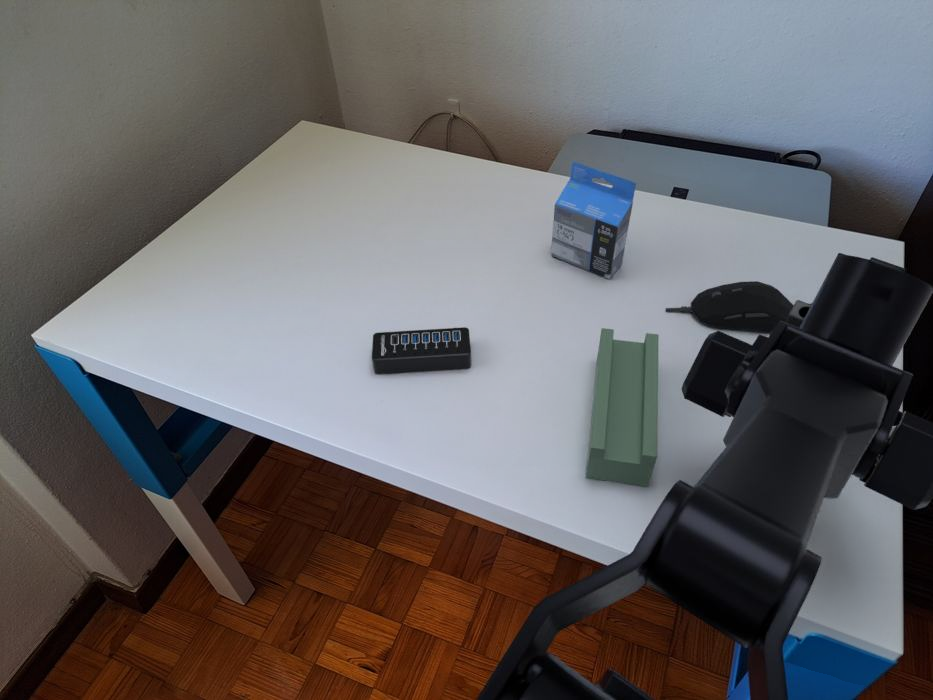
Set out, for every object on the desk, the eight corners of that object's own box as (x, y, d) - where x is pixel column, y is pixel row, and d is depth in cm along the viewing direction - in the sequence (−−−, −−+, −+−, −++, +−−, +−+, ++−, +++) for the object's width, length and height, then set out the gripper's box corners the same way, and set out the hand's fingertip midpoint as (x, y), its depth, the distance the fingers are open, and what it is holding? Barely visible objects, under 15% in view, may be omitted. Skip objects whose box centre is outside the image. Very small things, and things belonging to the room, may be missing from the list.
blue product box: (548, 256, 90) (554, 174, 81) (563, 241, 93) (571, 160, 84) (609, 280, 87) (622, 197, 78) (623, 264, 89) (637, 181, 80)
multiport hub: (471, 368, 77) (470, 354, 75) (374, 374, 77) (371, 360, 75) (469, 340, 80) (468, 326, 78) (375, 346, 80) (373, 332, 78)
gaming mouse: (662, 293, 85) (668, 268, 82) (787, 299, 83) (797, 273, 80) (667, 329, 80) (674, 303, 77) (799, 335, 79) (810, 310, 76)
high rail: (648, 487, 66) (657, 457, 62) (585, 477, 66) (590, 447, 63) (651, 366, 76) (658, 334, 73) (596, 359, 77) (601, 327, 74)
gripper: (1028, 368, 41) (975, 377, 55) (730, 256, 50) (750, 289, 63) (935, 528, 43) (907, 498, 57) (662, 393, 51) (695, 396, 65)
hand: (810, 413), depth 60 cm, fingers open, 9 cm apart
